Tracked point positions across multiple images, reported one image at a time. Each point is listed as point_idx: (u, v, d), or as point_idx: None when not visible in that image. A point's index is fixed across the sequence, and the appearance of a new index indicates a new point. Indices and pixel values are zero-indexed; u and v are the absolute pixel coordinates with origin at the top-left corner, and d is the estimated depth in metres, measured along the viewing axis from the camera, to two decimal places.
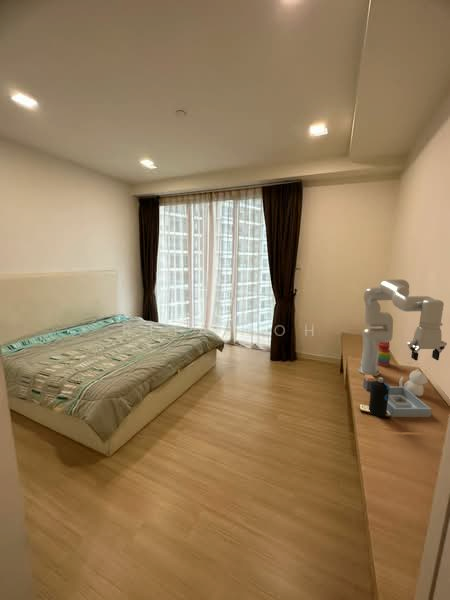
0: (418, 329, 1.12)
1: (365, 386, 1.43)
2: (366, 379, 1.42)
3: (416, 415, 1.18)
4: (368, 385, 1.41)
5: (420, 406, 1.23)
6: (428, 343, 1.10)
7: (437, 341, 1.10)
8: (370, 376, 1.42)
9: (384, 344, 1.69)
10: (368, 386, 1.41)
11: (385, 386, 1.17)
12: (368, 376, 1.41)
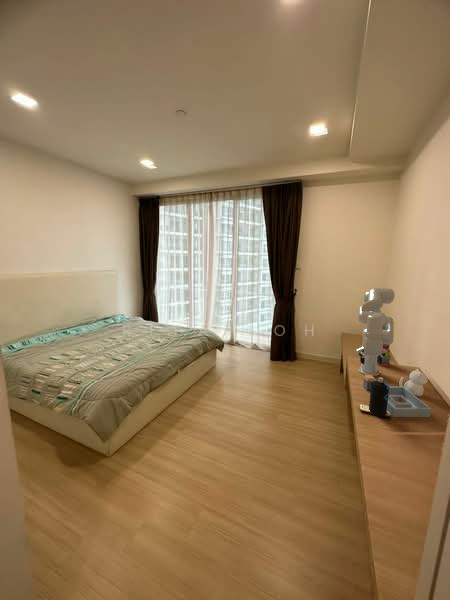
0: (364, 339, 1.37)
1: (365, 386, 1.43)
2: (365, 379, 1.42)
3: (416, 415, 1.18)
4: (368, 385, 1.41)
5: (420, 406, 1.23)
6: (372, 350, 1.36)
7: (379, 349, 1.35)
8: (370, 376, 1.42)
9: (384, 344, 1.69)
10: (368, 386, 1.41)
11: (385, 386, 1.17)
12: (368, 376, 1.41)
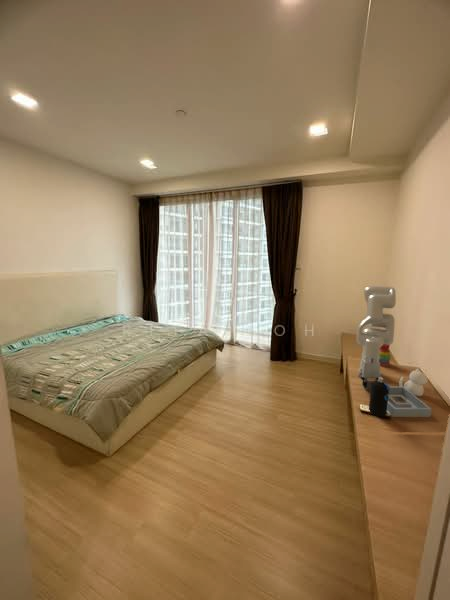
0: (362, 361, 1.40)
1: None
2: None
3: (416, 415, 1.18)
4: (368, 385, 1.41)
5: (420, 406, 1.23)
6: (369, 373, 1.39)
7: (376, 371, 1.38)
8: None
9: (384, 344, 1.69)
10: (368, 386, 1.41)
11: (385, 386, 1.17)
12: None
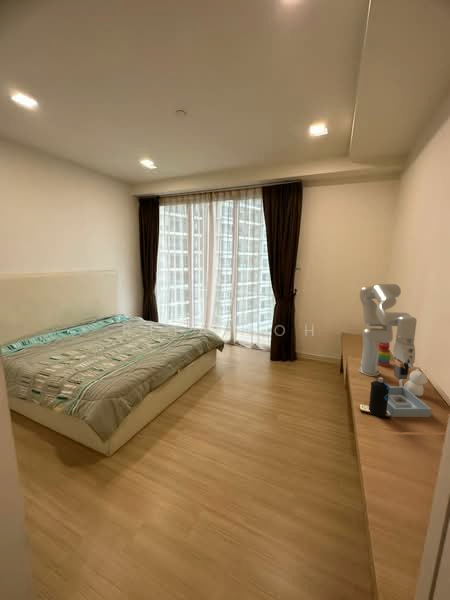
0: None
1: None
2: None
3: (416, 415, 1.18)
4: (395, 369, 1.26)
5: (420, 406, 1.23)
6: (396, 353, 1.24)
7: (402, 354, 1.20)
8: None
9: (384, 344, 1.69)
10: (395, 370, 1.26)
11: (385, 386, 1.17)
12: (400, 361, 1.24)
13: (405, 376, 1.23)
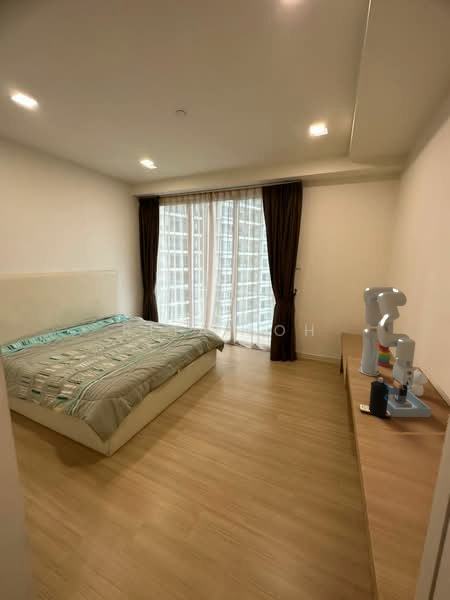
0: None
1: None
2: None
3: (416, 415, 1.18)
4: (394, 390, 1.28)
5: (420, 406, 1.23)
6: (395, 374, 1.26)
7: (401, 376, 1.22)
8: (400, 383, 1.25)
9: None
10: (394, 390, 1.28)
11: (385, 386, 1.17)
12: (399, 382, 1.26)
13: (404, 397, 1.25)
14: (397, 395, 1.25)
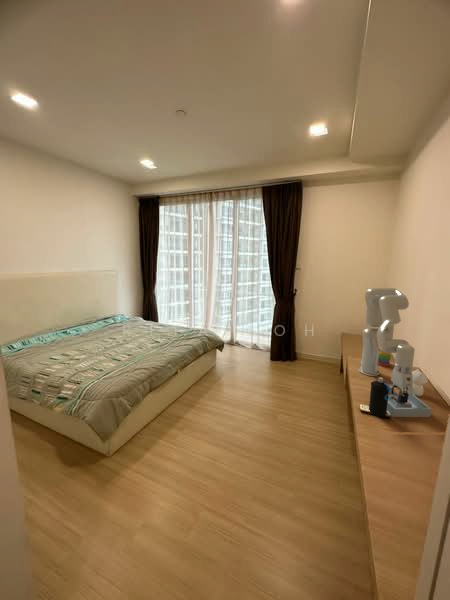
0: None
1: None
2: None
3: (416, 415, 1.18)
4: (394, 396, 1.29)
5: (420, 406, 1.23)
6: (395, 380, 1.27)
7: (400, 382, 1.23)
8: None
9: None
10: (393, 397, 1.29)
11: (385, 386, 1.17)
12: (399, 389, 1.27)
13: None
14: (396, 401, 1.27)
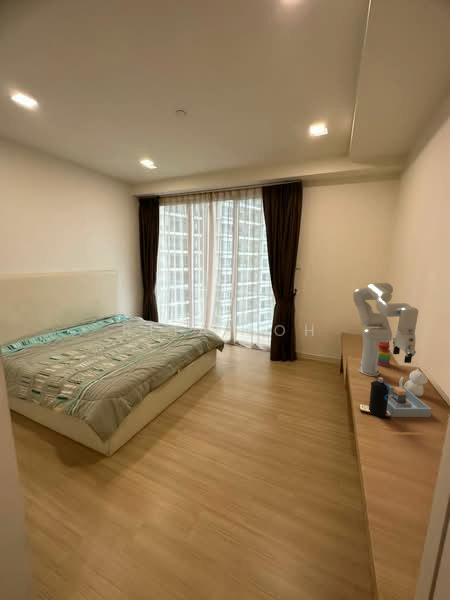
0: None
1: None
2: None
3: (416, 415, 1.18)
4: (394, 396, 1.29)
5: (420, 406, 1.23)
6: (398, 342, 1.30)
7: (403, 343, 1.26)
8: (401, 390, 1.26)
9: (384, 344, 1.69)
10: (393, 397, 1.29)
11: (385, 386, 1.17)
12: (399, 389, 1.27)
13: None
14: (396, 401, 1.27)
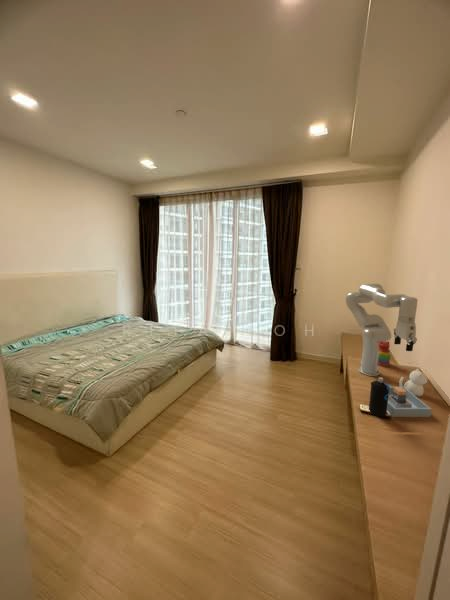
0: None
1: None
2: None
3: (416, 415, 1.18)
4: (394, 396, 1.29)
5: (420, 406, 1.23)
6: (399, 331, 1.35)
7: (404, 332, 1.30)
8: (401, 390, 1.26)
9: (384, 344, 1.69)
10: (393, 397, 1.29)
11: (385, 386, 1.17)
12: (399, 389, 1.27)
13: None
14: (396, 401, 1.27)
